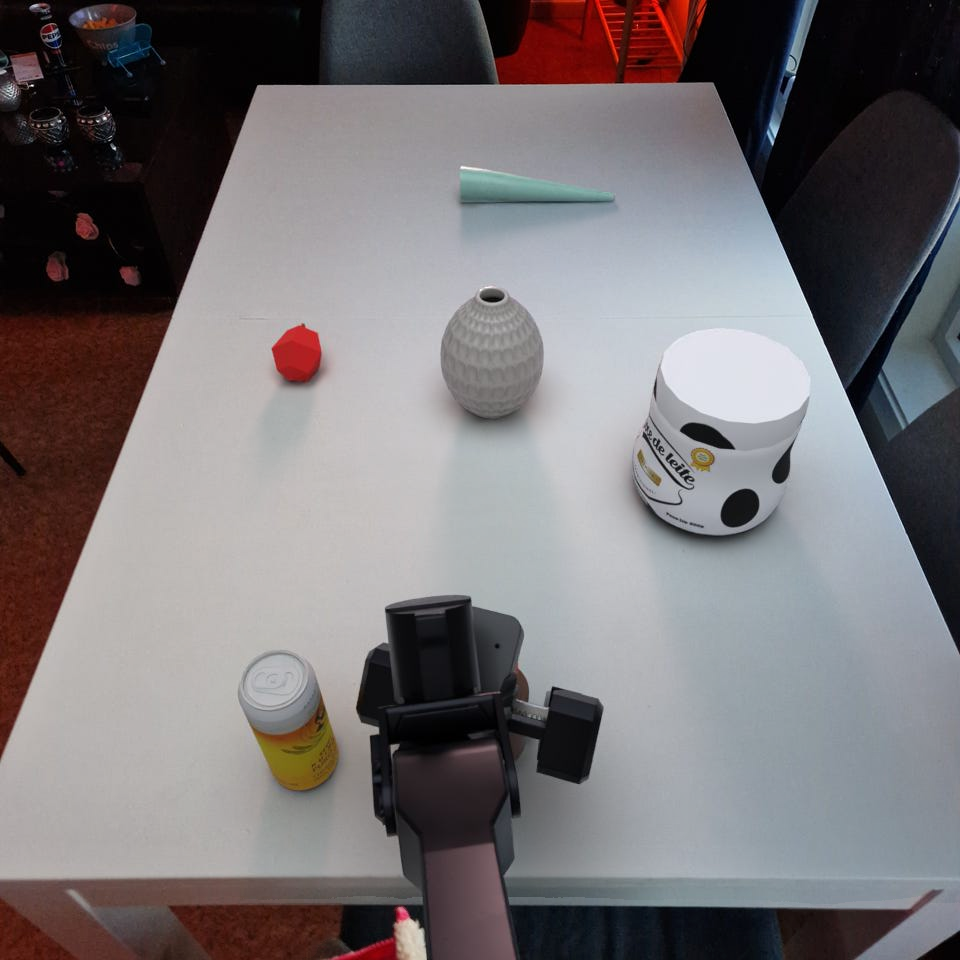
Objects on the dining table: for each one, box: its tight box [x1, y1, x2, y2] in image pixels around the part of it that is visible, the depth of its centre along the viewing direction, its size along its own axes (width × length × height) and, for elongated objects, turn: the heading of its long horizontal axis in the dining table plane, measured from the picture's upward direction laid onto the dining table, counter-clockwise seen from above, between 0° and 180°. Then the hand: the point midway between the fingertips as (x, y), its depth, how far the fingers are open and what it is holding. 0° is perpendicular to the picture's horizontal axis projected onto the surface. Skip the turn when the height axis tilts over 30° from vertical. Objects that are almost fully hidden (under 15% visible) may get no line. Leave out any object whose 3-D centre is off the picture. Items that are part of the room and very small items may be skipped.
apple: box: [271, 322, 323, 383], centre depth 110 cm, size 7×7×8 cm
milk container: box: [631, 327, 811, 537], centre depth 90 cm, size 17×17×18 cm
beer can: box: [237, 648, 339, 791], centre depth 69 cm, size 6×6×15 cm
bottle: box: [508, 668, 530, 762], centre depth 72 cm, size 6×6×13 cm
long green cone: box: [459, 165, 616, 203], centre depth 141 cm, size 5×6×27 cm
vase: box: [439, 285, 545, 419], centre depth 102 cm, size 13×13×17 cm
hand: (497, 683), depth 72 cm, fingers open, 9 cm apart
